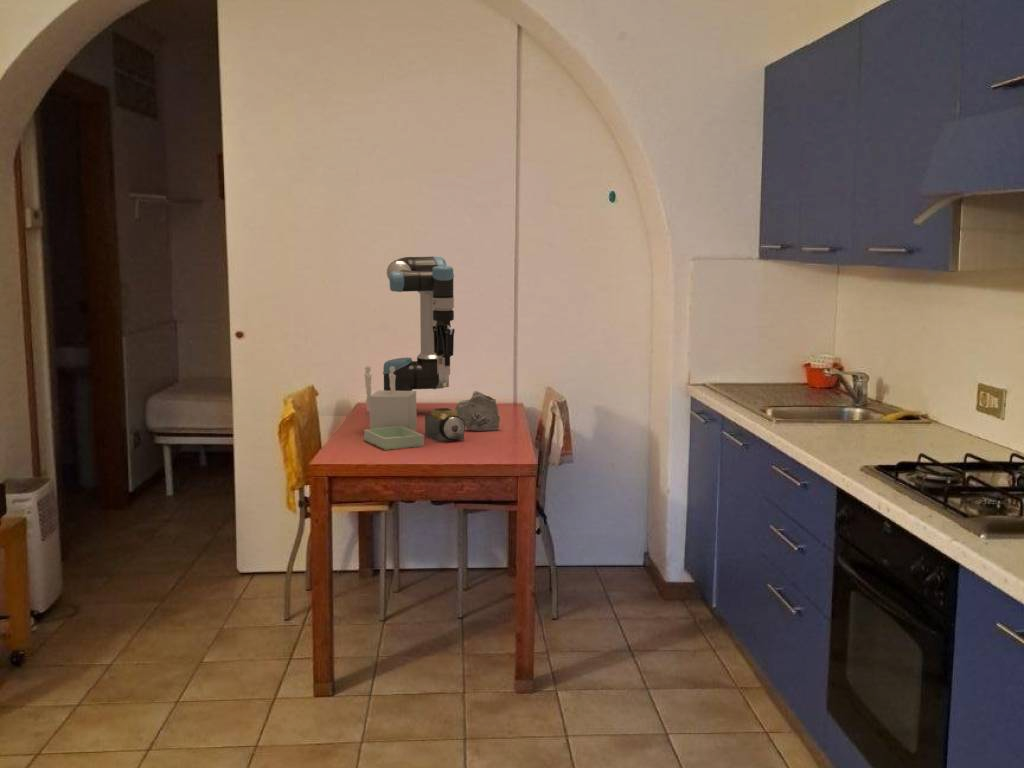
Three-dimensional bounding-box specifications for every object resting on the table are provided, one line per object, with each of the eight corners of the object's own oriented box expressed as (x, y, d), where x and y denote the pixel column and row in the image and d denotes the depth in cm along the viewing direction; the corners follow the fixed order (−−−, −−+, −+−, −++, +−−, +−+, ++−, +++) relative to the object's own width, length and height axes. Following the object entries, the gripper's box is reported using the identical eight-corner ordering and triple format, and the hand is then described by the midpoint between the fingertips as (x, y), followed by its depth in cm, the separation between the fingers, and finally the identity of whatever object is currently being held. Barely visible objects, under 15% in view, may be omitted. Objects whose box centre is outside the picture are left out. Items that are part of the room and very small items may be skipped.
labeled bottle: (437, 386, 367) (437, 359, 366) (446, 385, 369) (446, 358, 367) (441, 387, 364) (441, 360, 362) (450, 386, 366) (450, 359, 364)
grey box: (408, 436, 372) (407, 368, 369) (360, 435, 374) (359, 368, 371) (416, 428, 387) (415, 363, 383) (370, 427, 389) (369, 363, 385)
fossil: (454, 432, 380) (453, 393, 377) (454, 429, 386) (453, 390, 384) (500, 431, 380) (499, 392, 378) (499, 428, 387) (499, 389, 385)
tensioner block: (425, 436, 372) (424, 408, 370) (449, 433, 377) (449, 406, 375) (442, 443, 359) (442, 414, 357) (467, 440, 364) (467, 412, 362)
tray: (364, 440, 364) (364, 429, 364) (401, 436, 371) (401, 425, 371) (385, 450, 347) (385, 439, 347) (423, 446, 354) (423, 435, 354)
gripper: (424, 308, 367) (424, 371, 371) (443, 311, 353) (444, 377, 357) (442, 307, 371) (443, 370, 375) (463, 310, 357) (463, 376, 360)
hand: (443, 373), depth 366 cm, fingers closed on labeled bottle, 4 cm apart
